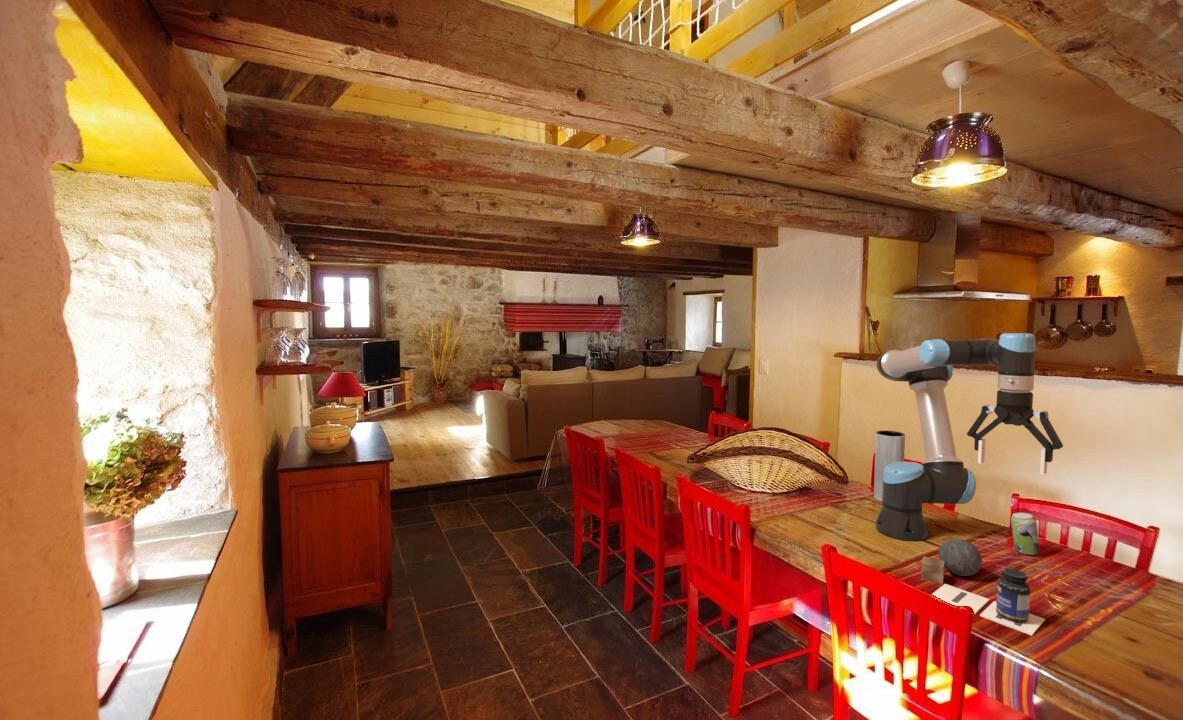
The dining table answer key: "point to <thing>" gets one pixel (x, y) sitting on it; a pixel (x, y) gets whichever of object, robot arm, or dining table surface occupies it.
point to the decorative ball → (960, 557)
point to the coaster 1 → (960, 597)
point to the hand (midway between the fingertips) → (1010, 467)
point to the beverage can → (1025, 533)
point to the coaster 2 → (1024, 627)
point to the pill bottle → (1013, 596)
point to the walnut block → (932, 570)
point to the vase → (886, 456)
